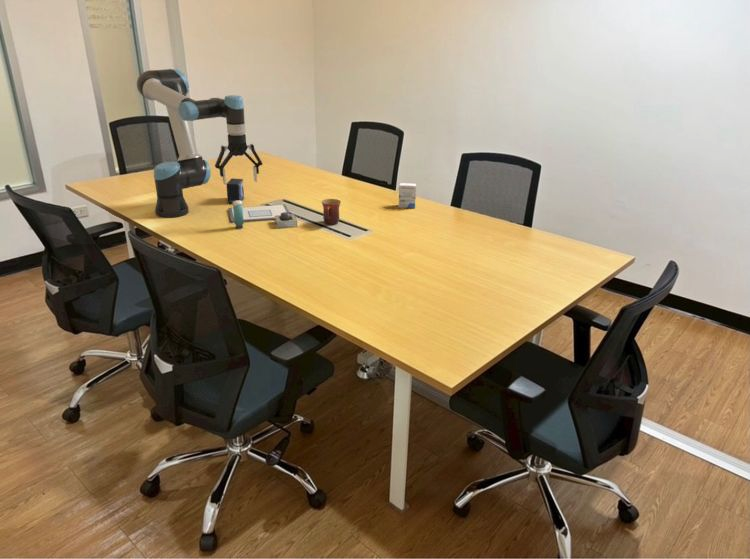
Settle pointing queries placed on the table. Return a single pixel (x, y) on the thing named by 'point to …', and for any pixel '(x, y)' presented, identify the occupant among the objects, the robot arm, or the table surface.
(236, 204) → the marker
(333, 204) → the mug
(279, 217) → the button housing
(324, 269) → the table surface
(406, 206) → the ink box
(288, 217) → the button
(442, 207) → the table surface
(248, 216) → the sheet
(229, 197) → the small box
